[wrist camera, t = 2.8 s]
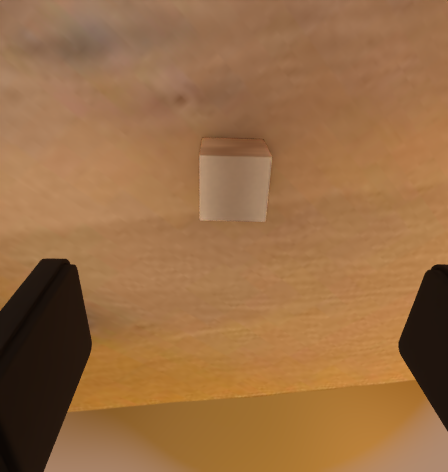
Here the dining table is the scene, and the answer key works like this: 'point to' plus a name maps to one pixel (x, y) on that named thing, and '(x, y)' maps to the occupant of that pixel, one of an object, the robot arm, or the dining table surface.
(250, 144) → the block
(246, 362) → the dining table surface
